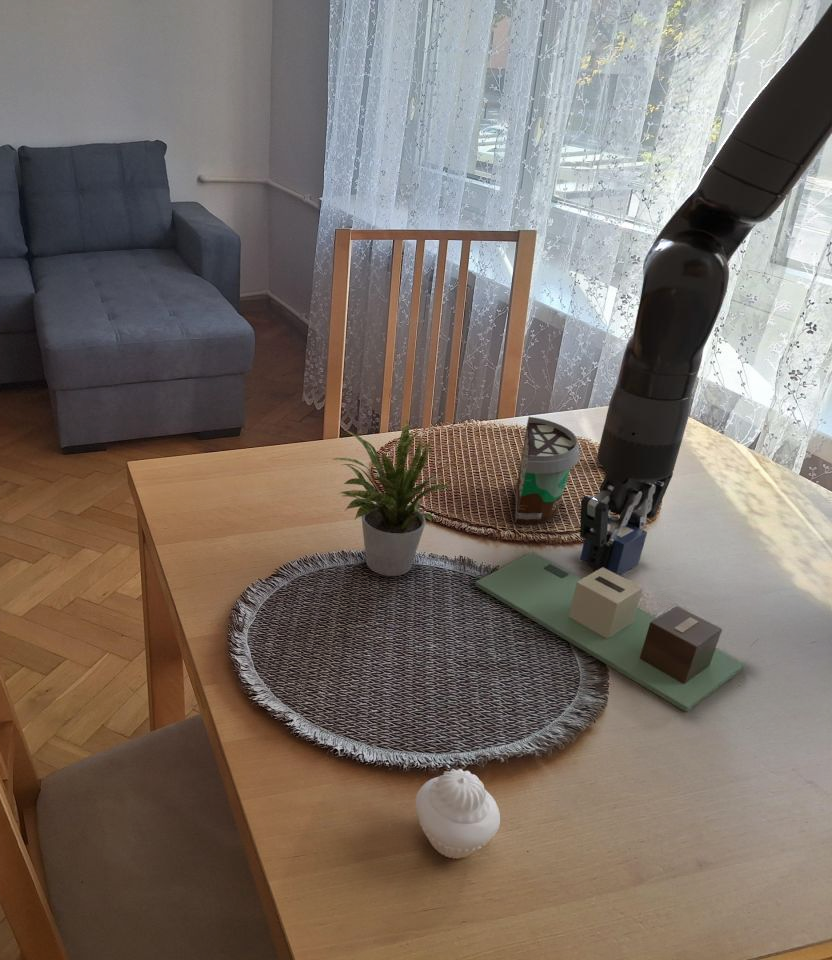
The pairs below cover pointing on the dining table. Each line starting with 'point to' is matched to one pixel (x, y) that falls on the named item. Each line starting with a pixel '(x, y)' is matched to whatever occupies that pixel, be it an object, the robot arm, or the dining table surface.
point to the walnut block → (680, 644)
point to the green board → (548, 603)
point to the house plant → (391, 507)
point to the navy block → (622, 549)
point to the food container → (544, 470)
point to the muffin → (457, 813)
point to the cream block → (605, 602)
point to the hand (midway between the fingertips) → (609, 559)
